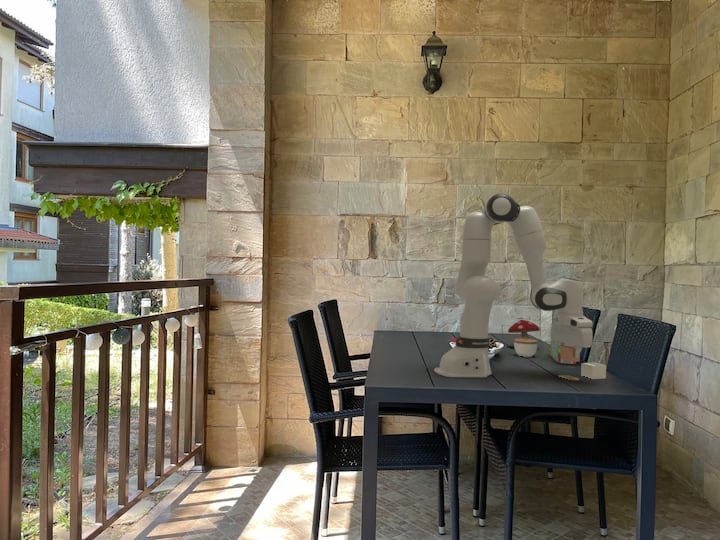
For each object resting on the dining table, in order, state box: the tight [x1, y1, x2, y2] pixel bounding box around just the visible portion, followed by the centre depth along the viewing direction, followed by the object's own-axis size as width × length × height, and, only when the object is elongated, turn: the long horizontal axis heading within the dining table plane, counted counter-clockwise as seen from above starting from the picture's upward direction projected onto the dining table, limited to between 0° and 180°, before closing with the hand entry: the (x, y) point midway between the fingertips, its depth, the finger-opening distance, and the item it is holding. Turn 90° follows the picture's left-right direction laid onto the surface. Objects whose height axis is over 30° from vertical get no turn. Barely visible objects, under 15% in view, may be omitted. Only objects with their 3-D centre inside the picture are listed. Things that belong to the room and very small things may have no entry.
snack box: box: [550, 309, 577, 365], centre depth 238 cm, size 22×9×26 cm, turn 168°
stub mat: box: [558, 374, 580, 381], centre depth 199 cm, size 4×7×1 cm, turn 16°
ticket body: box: [580, 362, 607, 380], centre depth 202 cm, size 6×6×5 cm
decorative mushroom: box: [507, 319, 541, 339], centre depth 270 cm, size 16×16×15 cm
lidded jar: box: [513, 337, 538, 358], centre depth 246 cm, size 11×11×9 cm
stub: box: [560, 346, 581, 363], centre depth 199 cm, size 4×6×5 cm, turn 16°
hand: (569, 355), depth 199 cm, fingers closed on stub, 6 cm apart
